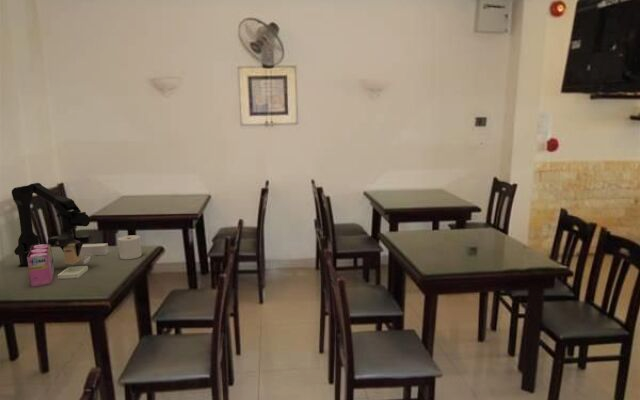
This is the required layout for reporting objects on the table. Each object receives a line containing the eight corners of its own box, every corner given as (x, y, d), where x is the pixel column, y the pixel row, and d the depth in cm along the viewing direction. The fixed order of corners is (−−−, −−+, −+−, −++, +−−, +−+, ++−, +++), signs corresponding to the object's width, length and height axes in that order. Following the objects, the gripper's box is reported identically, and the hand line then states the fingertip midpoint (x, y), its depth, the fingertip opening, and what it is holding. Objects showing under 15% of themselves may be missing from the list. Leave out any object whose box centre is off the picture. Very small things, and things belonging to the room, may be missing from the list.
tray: (58, 279, 209) (57, 274, 209) (69, 270, 220) (68, 266, 220) (78, 278, 210) (77, 273, 210) (88, 269, 221) (87, 265, 221)
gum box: (36, 270, 222) (32, 243, 219) (55, 268, 225) (51, 241, 222) (31, 287, 201) (26, 257, 198) (51, 283, 204) (47, 254, 201)
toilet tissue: (137, 259, 235) (135, 240, 233) (113, 260, 235) (111, 241, 233) (145, 253, 245) (143, 234, 243) (122, 253, 245) (120, 235, 243)
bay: (60, 265, 228) (59, 256, 227) (78, 253, 247) (76, 244, 246) (94, 264, 229) (93, 254, 228) (108, 252, 248) (107, 243, 247)
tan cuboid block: (64, 264, 220) (62, 248, 218) (72, 259, 227) (69, 243, 226) (74, 264, 220) (72, 248, 218) (81, 259, 228) (79, 243, 226)
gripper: (39, 230, 212) (44, 263, 215) (81, 228, 213) (85, 261, 216) (51, 224, 223) (55, 255, 226) (91, 223, 224) (95, 253, 227)
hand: (72, 256), depth 224 cm, fingers closed on tan cuboid block, 4 cm apart
